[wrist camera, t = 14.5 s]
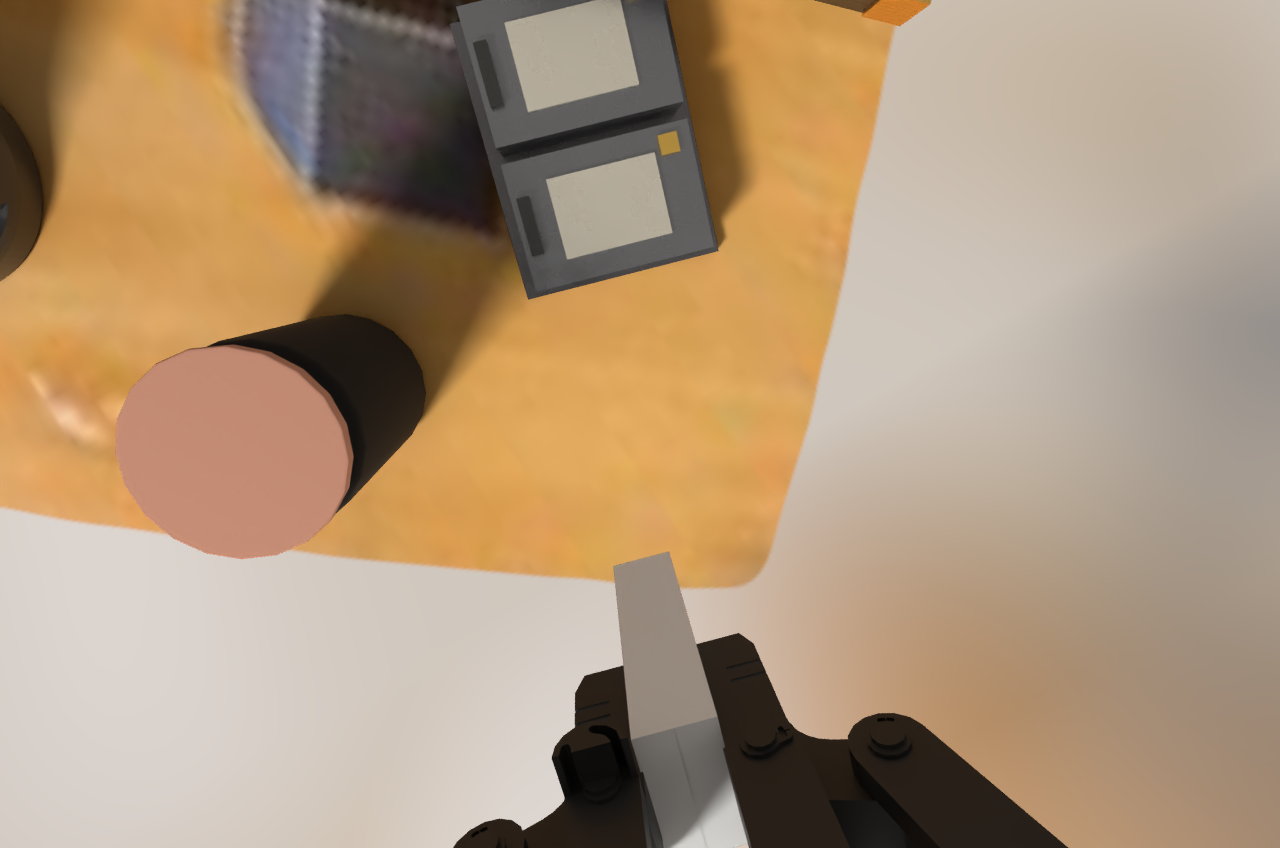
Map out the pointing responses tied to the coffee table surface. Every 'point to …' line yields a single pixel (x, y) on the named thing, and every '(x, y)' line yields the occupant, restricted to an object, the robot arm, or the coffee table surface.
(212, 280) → the coffee table surface
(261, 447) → the coffee jar
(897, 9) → the swing arm
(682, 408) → the coffee table surface
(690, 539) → the coffee table surface
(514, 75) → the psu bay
